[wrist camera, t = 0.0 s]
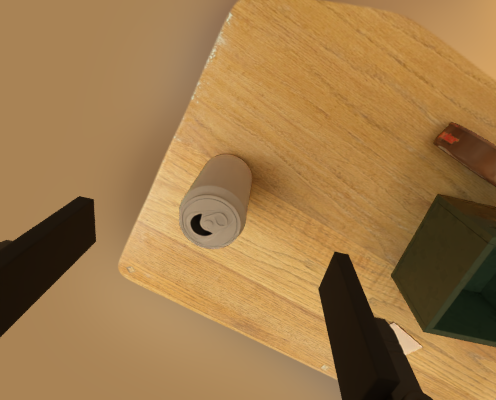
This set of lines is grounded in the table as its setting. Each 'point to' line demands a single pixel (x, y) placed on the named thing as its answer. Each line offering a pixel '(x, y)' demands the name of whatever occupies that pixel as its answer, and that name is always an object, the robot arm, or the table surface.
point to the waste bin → (452, 271)
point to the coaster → (405, 340)
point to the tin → (469, 150)
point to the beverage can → (217, 203)
